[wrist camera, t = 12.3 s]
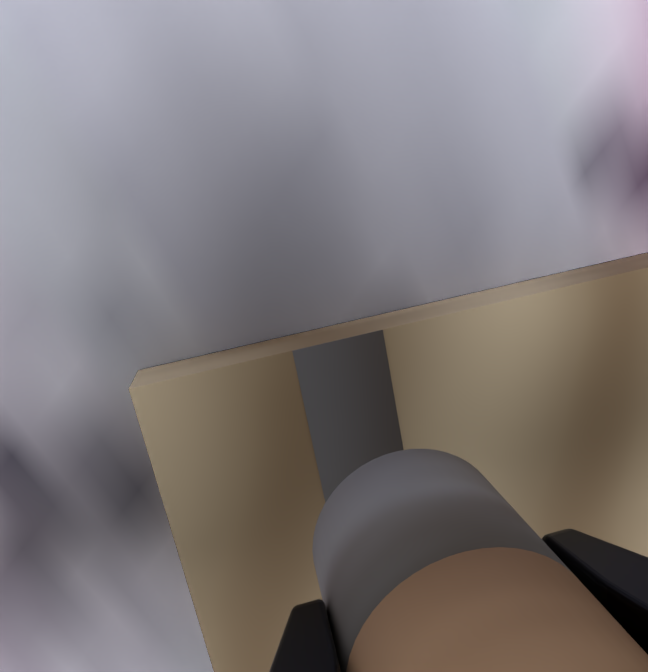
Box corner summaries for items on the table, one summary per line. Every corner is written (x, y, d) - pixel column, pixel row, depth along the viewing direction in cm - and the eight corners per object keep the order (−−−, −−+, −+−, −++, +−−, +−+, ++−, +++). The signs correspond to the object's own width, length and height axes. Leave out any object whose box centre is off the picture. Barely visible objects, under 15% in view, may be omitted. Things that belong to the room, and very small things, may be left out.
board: (894, 195, 14) (956, 195, 13) (864, 664, 17) (910, 697, 16) (138, 370, 12) (128, 389, 11) (281, 858, 15) (286, 912, 14)
